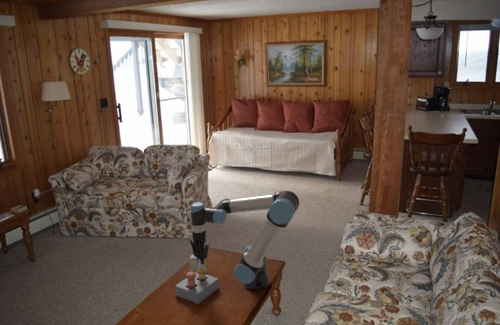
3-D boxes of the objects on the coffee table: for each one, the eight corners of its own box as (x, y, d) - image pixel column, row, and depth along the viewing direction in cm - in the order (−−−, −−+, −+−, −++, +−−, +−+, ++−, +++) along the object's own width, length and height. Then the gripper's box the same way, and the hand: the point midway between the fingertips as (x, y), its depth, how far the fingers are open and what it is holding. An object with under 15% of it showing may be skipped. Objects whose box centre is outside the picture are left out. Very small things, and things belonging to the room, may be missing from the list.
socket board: (218, 287, 234) (218, 278, 232) (198, 304, 219) (197, 294, 218) (197, 280, 242) (196, 271, 241) (176, 295, 228) (175, 285, 226)
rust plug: (198, 287, 227) (197, 273, 224) (192, 292, 222) (191, 277, 220) (191, 284, 230) (190, 270, 227) (184, 289, 225) (183, 275, 223)
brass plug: (209, 282, 234) (208, 268, 232) (203, 286, 230) (202, 272, 228) (201, 279, 237) (200, 265, 235) (195, 284, 233) (194, 270, 230)
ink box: (206, 271, 251) (205, 254, 248) (204, 276, 246) (203, 258, 243) (192, 271, 252) (191, 254, 249) (190, 275, 247) (189, 258, 244)
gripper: (212, 230, 225) (214, 268, 231) (194, 225, 231) (196, 263, 238) (203, 235, 218) (206, 274, 225) (185, 230, 225) (188, 268, 232)
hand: (201, 268), depth 231 cm, fingers closed
